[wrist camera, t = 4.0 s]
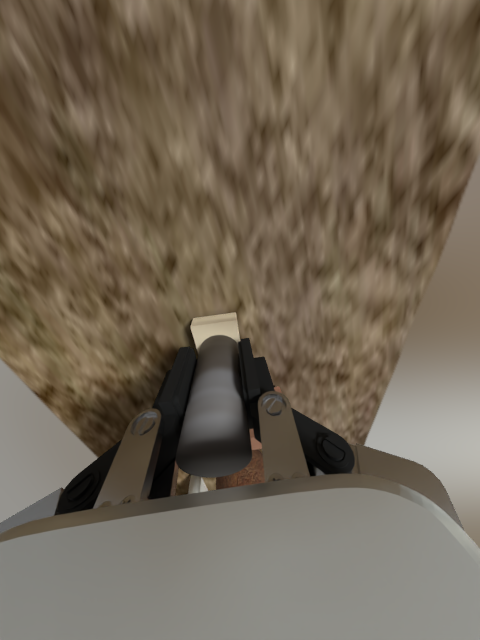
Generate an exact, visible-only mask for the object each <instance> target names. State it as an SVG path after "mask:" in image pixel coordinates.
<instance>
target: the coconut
mask: <svg viewBox="0 0 480 640" xmlns="http://www.w3.org/2000/svg"><path fill="white" fill-rule="evenodd" d="M259 483H265V477H264V466H263V455H262V453H261V452H260V451H259V450H258V449H256V450H252V459H251V461H250V463H249V464H248V465H247V466H246V467H245V468H244V469H242V470H240V471H238V472H236V473H234V474H231V475H227V476H222V477H216V490H218V489H225V488H232V487H239V486H245V485H252V484H259Z"/></svg>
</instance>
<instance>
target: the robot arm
mask: <svg viewBox="0 0 480 640" xmlns="http://www.w3.org/2000/svg"><path fill="white" fill-rule="evenodd" d="M238 349H239V358H240V367H241V376H242V385H243V393H244V400H245V406H246V410H247V414H248V422H249V429H253V431H254V438H255V439H256V440H257V441H259V442H260V443H261V444H262V455H263V466H264V477H265V483H259V484H252V485H245V486H239V487H232V488H225V489H218V490H212V491H205V492H199V493H192V494H185V495H179V496H175V492H176V485H177V477H178V469H179V467H178V465H177V464H176V460H175V458H176V453H177V448H178V444H179V439H180V435H181V430H182V426H183V421H184V417H185V412H186V408H187V403H188V399H189V394H190V390H191V385H192V381H193V376H194V372H195V367H196V363H197V359H196V356H195V352H194V349H193V348H190V347H182V348H180V349H179V352H178V354H177V357H176V359H175V362H174V364H173V367H172V369H171V370H169V371H168V372H167V374H166V376H165V378H164V381H163V383H162V386H161V388H160V390H159V393H158V395H157V398H156V400H155V402H154V405H153V407H152V409H147V410H144V411H142V412H141V413H139V414H138V415H137V416H135V417H134V418H133V419H132V421H131V422H130V424H129V425H128V427H127V430H126V432H125V434H124V437H123V439H122V440H121V441H119V442H118V443H117V444H116V445H114V446H113V447H112V448H110V449H109V450H108V451H107V452H105V453H104V454H103V455H102V456H100V457H99V458H98V459H97V460H95V461H94V462H93V463H92V464H90V465H89V466H88V467H87V468H85V469H84V470H83V471H82V472H80V473H79V474H78V475H77V476H76V477H75V478H74V479H72V481H71V482H70V483H69V484H68V485H67V487H66V488H65V489H63V488H60V489H58V490H56V491H55V492H53V493H51V494H49V495H48V496H46V497H44V498H43V499H41V500H39V501H37V502H36V503H34V504H32V505H30V506H29V507H27V508H25V509H24V510H22V511H20V512H18V513H17V514H15V515H13V516H12V517H10V518H8V519H6V520H5V521H3V522H1V523H0V640H480V548H479V547H478V546H477V544H476V543H475V542H474V541H473V540H472V539H471V538H470V537H469V536H468V535H467V534H466V532H465V531H464V529H463V527H462V524H461V522H460V520H459V518H458V516H457V513H456V511H455V509H454V507H453V504H452V502H451V501H450V498H449V496H448V493H447V491H446V489H445V488H444V486H443V485H442V483H441V481H440V480H439V479H438V478H437V477H436V476H435V475H434V474H433V473H432V472H431V471H430V470H428V469H427V468H426V467H424V466H423V465H420V464H418V463H416V462H414V461H410V460H408V459H405V458H401V457H398V456H395V455H392V454H389V453H386V452H382V451H379V450H376V449H373V448H370V447H366V446H363V445H360V444H357V443H356V446H355V445H352V444H349V443H347V442H346V441H345V440H344V439H343V438H342V437H341V436H339V435H338V434H336V433H334V432H332V431H331V430H329V429H327V428H326V427H324V426H322V425H320V424H319V423H317V422H315V421H313V420H312V419H310V418H308V417H306V416H305V415H303V414H301V413H299V412H298V411H296V410H294V409H293V408H291V406H290V403H289V401H288V399H287V397H286V396H285V395H283V394H282V393H280V392H277V391H275V389H274V386H273V383H272V379H271V376H270V373H269V370H268V367H267V363H266V360H265V357H258V358H253V354H252V349H251V345H250V340H249V338H245V339H241V341H240V342H238Z"/></svg>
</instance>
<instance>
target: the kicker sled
mask: <svg viewBox="0 0 480 640" xmlns="http://www.w3.org/2000/svg"><path fill="white" fill-rule="evenodd" d="M190 327H191V331H192V334H193V338H194V341H195V344H196V348H197V351H198V358H197V363H196V367H195V372H194V376H193V381H192V385H191V390H190V394H189V399H188V403H187V408H186V412H185V417H184V421H183V426H182V430H181V435H180V439H179V444H178V448H177V453H176V458H175V460H176V464H177V465H178V467H179V468H180V469H181V470H183V471H184V472H186V473H188V474H191V475H194V476H199V477H222V476H227V475H231V474H234V473H236V472H238V471H240V470H242V469H244V468H245V467H246V466H247V465H248V464H249V463H250V461H251V459H252V450H256V449H262V444H261V443H260V442H259V441H257V440H256V439H255V438H254V431H253V429H249V422H248V414H247V410H246V406H245V400H244V393H243V385H242V376H241V367H240V358H239V349H238V342H240V337H239V330H238V323H237V316H236V312H235V313H227V314H220V315H213V316H206V317H198V318H193V321H192V323H191V326H190ZM274 389H275V391H277V392H280V393H282V392H281V390H280V387H274Z"/></svg>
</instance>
